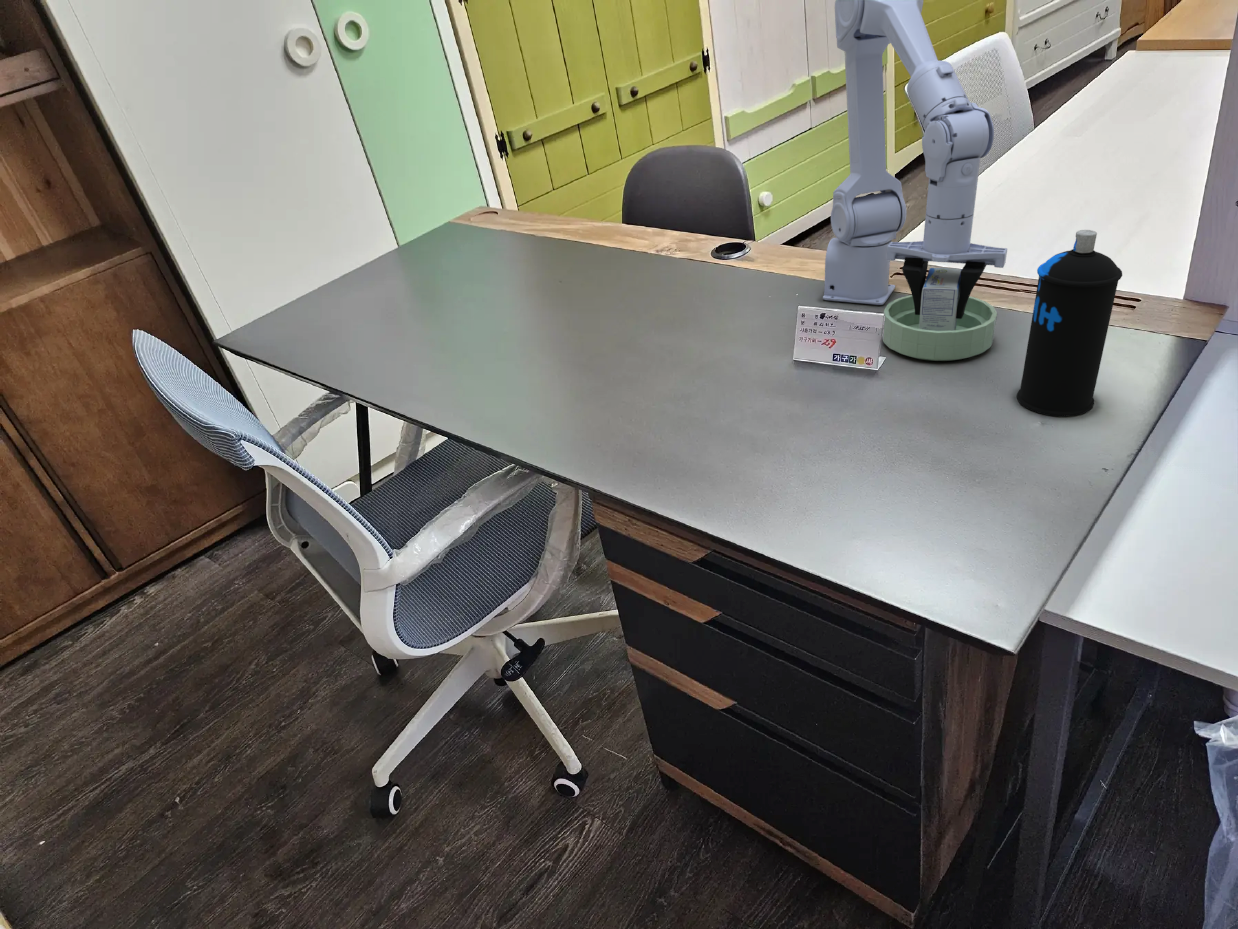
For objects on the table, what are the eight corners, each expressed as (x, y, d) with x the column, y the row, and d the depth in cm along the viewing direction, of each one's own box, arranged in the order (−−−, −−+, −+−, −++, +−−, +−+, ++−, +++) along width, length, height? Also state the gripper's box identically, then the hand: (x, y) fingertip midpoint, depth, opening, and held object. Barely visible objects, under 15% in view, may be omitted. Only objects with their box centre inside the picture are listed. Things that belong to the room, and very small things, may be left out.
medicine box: (951, 350, 112) (959, 287, 108) (916, 348, 114) (922, 286, 109) (956, 327, 118) (963, 267, 114) (922, 325, 120) (928, 266, 115)
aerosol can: (1089, 386, 101) (1125, 220, 91) (1098, 419, 95) (1137, 244, 84) (1014, 382, 104) (1040, 221, 94) (1018, 414, 98) (1046, 244, 87)
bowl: (870, 356, 114) (872, 325, 112) (896, 317, 125) (898, 288, 122) (982, 370, 108) (986, 337, 105) (999, 327, 118) (1004, 297, 116)
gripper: (883, 219, 107) (877, 319, 114) (1006, 224, 101) (991, 330, 108) (897, 204, 113) (890, 301, 120) (1015, 208, 106) (1000, 310, 113)
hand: (939, 314), depth 114 cm, fingers closed on medicine box, 5 cm apart
